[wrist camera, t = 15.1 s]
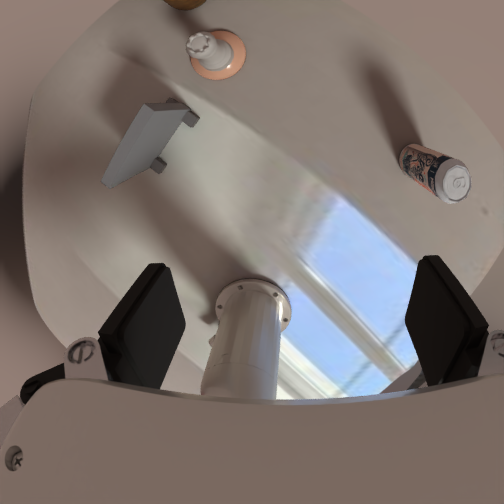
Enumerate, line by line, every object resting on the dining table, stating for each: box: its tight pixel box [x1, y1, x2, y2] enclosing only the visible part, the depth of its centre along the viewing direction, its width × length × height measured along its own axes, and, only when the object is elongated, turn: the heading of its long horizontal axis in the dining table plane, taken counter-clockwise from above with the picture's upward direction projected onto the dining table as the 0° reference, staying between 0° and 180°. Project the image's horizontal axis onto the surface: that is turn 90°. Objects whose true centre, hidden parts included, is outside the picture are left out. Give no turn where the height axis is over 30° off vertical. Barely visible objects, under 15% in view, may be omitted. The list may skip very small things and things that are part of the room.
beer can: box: [399, 144, 471, 203], centre depth 27 cm, size 5×5×12 cm
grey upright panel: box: [101, 98, 200, 189], centre depth 30 cm, size 10×5×11 cm, turn 141°
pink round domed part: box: [191, 31, 246, 80], centre depth 29 cm, size 7×7×1 cm
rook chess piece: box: [186, 31, 234, 71], centre depth 25 cm, size 4×4×8 cm
